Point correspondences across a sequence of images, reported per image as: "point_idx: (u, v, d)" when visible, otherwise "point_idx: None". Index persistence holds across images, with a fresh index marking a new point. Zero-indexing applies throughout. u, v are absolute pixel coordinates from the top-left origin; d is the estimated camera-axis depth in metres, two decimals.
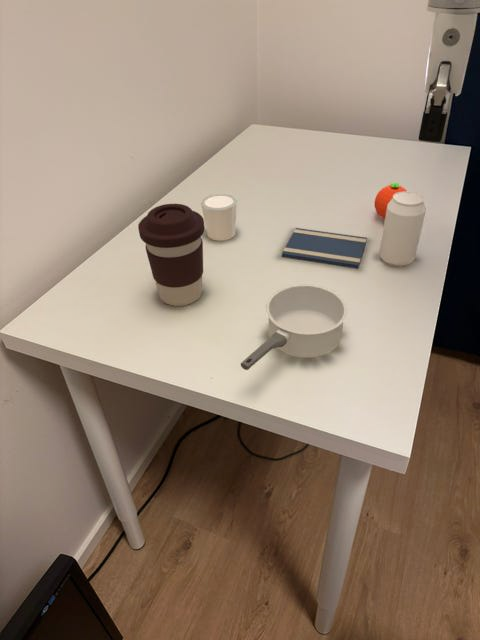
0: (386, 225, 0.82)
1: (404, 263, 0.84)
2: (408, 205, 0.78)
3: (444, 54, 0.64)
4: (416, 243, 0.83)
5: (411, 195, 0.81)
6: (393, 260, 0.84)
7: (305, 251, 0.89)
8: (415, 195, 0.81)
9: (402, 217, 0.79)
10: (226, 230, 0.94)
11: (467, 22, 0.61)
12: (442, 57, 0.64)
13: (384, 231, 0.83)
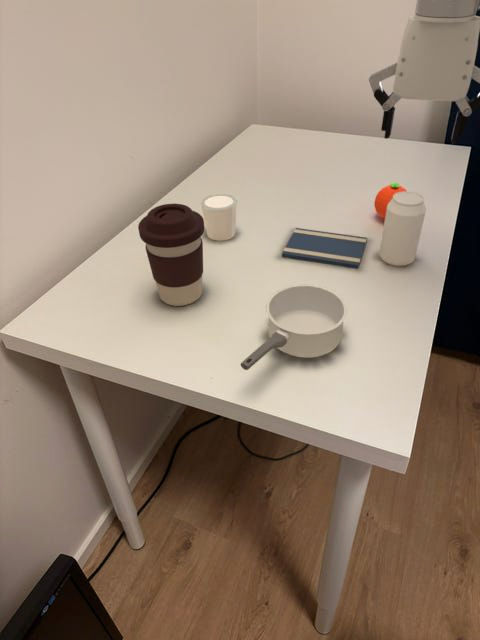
0: (386, 225, 0.82)
1: (404, 263, 0.84)
2: (408, 205, 0.78)
3: None
4: (416, 243, 0.83)
5: (411, 195, 0.81)
6: (393, 260, 0.84)
7: (305, 251, 0.89)
8: (415, 195, 0.81)
9: (402, 217, 0.79)
10: (226, 230, 0.94)
11: None
12: (474, 60, 0.65)
13: (384, 231, 0.83)
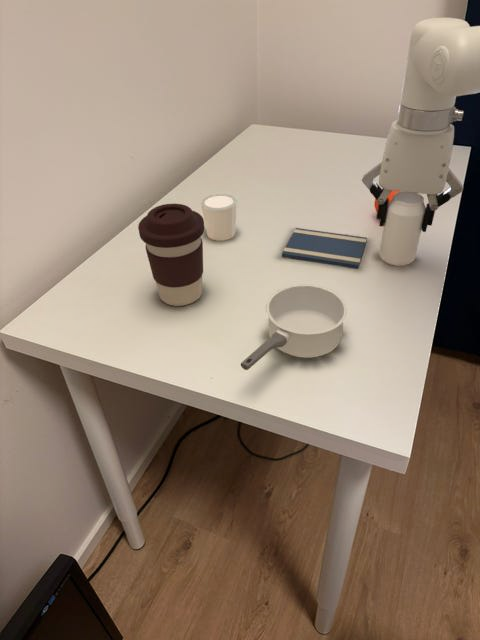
0: (386, 225, 0.82)
1: (404, 263, 0.84)
2: (408, 205, 0.78)
3: (450, 159, 0.74)
4: (416, 243, 0.83)
5: (411, 195, 0.81)
6: (393, 260, 0.84)
7: (305, 251, 0.89)
8: (415, 195, 0.81)
9: (402, 217, 0.79)
10: (226, 230, 0.94)
11: None
12: None
13: (384, 231, 0.83)
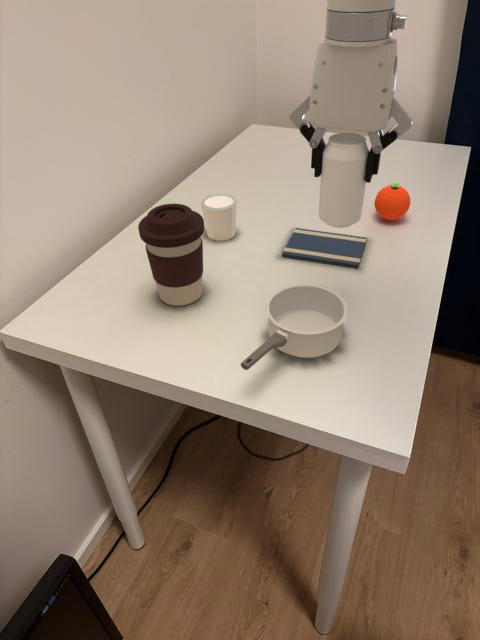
0: (322, 175, 0.67)
1: (346, 223, 0.69)
2: (345, 147, 0.62)
3: (394, 84, 0.58)
4: (360, 198, 0.67)
5: (351, 137, 0.65)
6: (333, 220, 0.69)
7: (305, 251, 0.89)
8: (357, 137, 0.65)
9: (339, 162, 0.63)
10: (226, 230, 0.94)
11: None
12: (394, 91, 0.58)
13: (321, 183, 0.68)
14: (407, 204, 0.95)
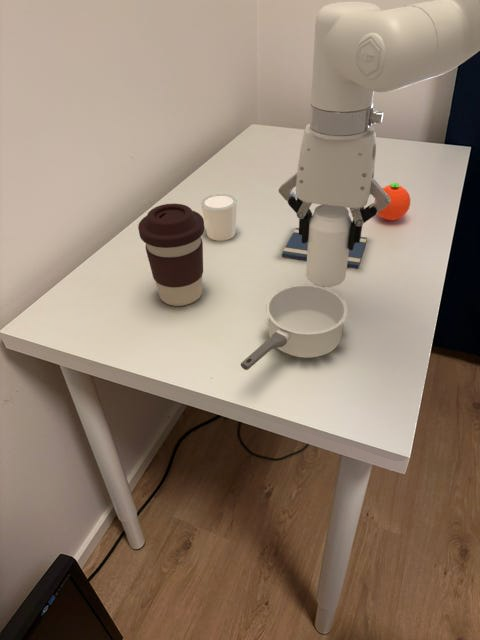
0: (309, 242, 0.72)
1: (331, 285, 0.74)
2: (329, 220, 0.68)
3: (373, 168, 0.63)
4: (343, 262, 0.73)
5: (335, 208, 0.71)
6: (319, 281, 0.74)
7: (305, 251, 0.89)
8: (340, 208, 0.71)
9: (323, 233, 0.69)
10: (226, 230, 0.94)
11: None
12: (373, 174, 0.64)
13: (308, 248, 0.73)
14: (407, 204, 0.95)
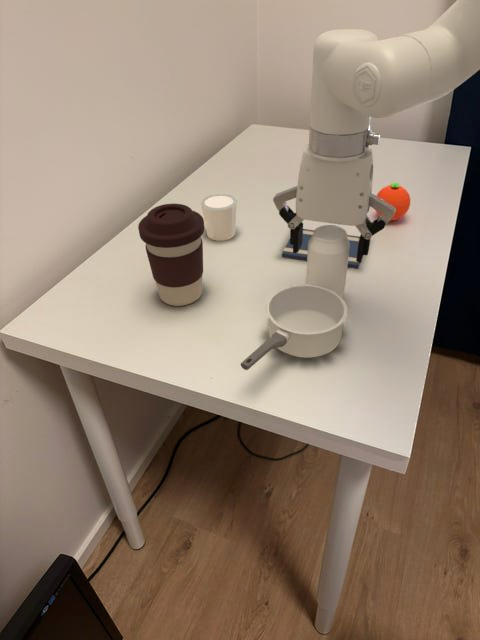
0: (308, 262, 0.74)
1: None
2: (328, 242, 0.70)
3: (370, 187, 0.65)
4: (342, 282, 0.75)
5: (334, 230, 0.73)
6: None
7: (305, 251, 0.89)
8: (338, 230, 0.73)
9: (322, 255, 0.71)
10: (226, 230, 0.94)
11: None
12: (370, 190, 0.65)
13: (307, 268, 0.75)
14: (407, 204, 0.95)
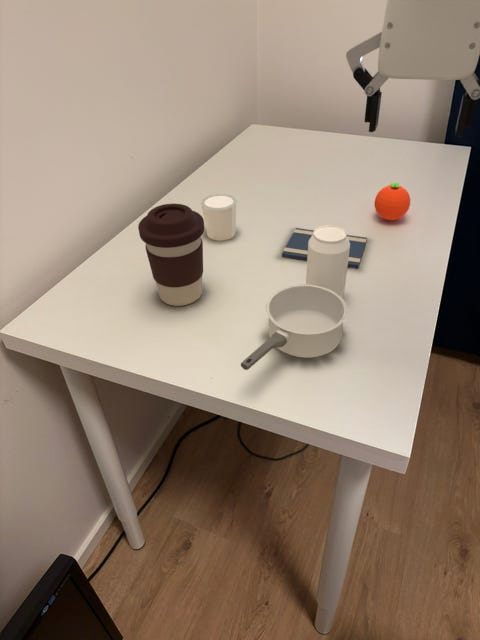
0: (308, 262, 0.74)
1: None
2: (328, 242, 0.70)
3: None
4: (342, 282, 0.75)
5: (334, 230, 0.73)
6: None
7: (305, 251, 0.89)
8: (338, 230, 0.73)
9: (322, 255, 0.71)
10: (226, 230, 0.94)
11: None
12: None
13: (307, 268, 0.75)
14: (407, 204, 0.95)
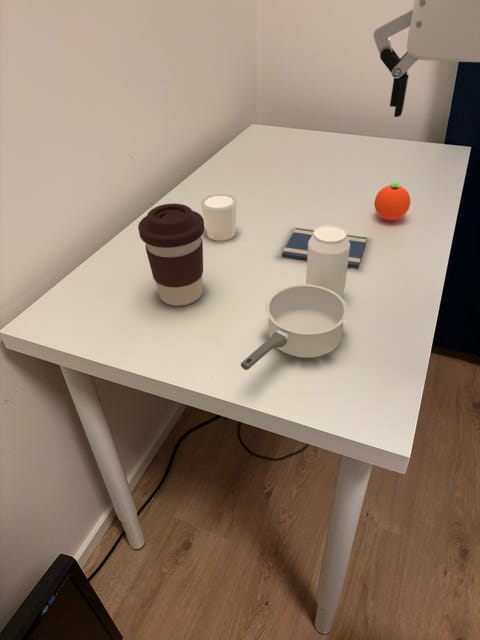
0: (308, 262, 0.74)
1: None
2: (328, 242, 0.70)
3: None
4: (342, 282, 0.75)
5: (334, 230, 0.73)
6: None
7: (305, 251, 0.89)
8: (338, 230, 0.73)
9: (322, 255, 0.71)
10: (226, 230, 0.94)
11: None
12: None
13: (307, 268, 0.75)
14: (407, 204, 0.95)
